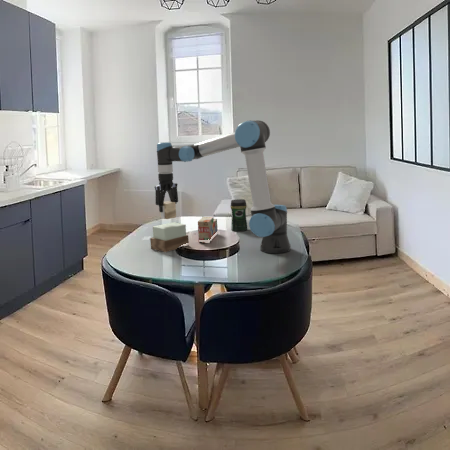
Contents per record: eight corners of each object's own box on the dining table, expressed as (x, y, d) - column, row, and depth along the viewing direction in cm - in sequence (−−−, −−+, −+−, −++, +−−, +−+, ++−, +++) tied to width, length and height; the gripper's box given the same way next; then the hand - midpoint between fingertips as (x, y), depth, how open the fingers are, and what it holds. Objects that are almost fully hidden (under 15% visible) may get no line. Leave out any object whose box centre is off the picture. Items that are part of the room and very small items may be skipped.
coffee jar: (246, 228, 304) (246, 198, 300) (247, 231, 296) (247, 200, 292) (230, 228, 303) (229, 198, 300) (231, 231, 296) (230, 200, 292)
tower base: (188, 246, 267) (188, 235, 265) (165, 252, 255) (164, 241, 254) (174, 243, 275) (173, 232, 273) (151, 249, 264) (150, 238, 262)
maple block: (176, 217, 262) (175, 202, 260) (167, 219, 257) (166, 203, 256) (168, 216, 266) (167, 201, 264) (160, 217, 261) (159, 202, 260)
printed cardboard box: (207, 234, 292) (206, 213, 290) (217, 234, 291) (217, 213, 288) (198, 243, 272) (197, 221, 269) (209, 243, 270) (208, 221, 268)
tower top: (186, 235, 265) (185, 224, 264) (165, 240, 255) (164, 229, 254) (174, 233, 272) (173, 222, 271) (153, 237, 262) (152, 226, 261)
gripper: (174, 170, 266) (176, 213, 271) (146, 174, 253) (148, 219, 257) (184, 171, 261) (186, 215, 266) (155, 175, 247) (158, 220, 252)
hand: (167, 217), depth 262 cm, fingers closed on maple block, 6 cm apart
